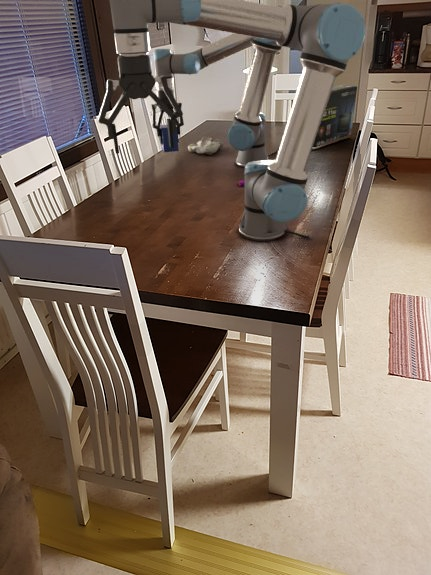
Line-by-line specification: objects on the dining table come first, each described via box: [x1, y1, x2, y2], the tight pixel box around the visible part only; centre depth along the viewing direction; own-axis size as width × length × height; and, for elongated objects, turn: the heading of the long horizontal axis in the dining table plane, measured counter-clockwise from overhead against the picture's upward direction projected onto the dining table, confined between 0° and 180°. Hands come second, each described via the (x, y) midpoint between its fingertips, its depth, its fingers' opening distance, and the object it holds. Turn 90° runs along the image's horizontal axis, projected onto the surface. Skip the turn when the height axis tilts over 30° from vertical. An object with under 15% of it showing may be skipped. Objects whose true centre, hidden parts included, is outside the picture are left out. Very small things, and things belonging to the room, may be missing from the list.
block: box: [160, 124, 180, 153], centre depth 210 cm, size 7×7×11 cm
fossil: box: [187, 135, 224, 156], centre depth 238 cm, size 18×11×15 cm
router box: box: [313, 84, 358, 147], centre depth 238 cm, size 36×11×27 cm, turn 134°
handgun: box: [238, 180, 245, 187], centre depth 183 cm, size 21×8×2 cm, turn 11°
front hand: (144, 149), depth 115 cm, fingers open, 13 cm apart
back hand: (169, 142), depth 211 cm, fingers closed on block, 7 cm apart
